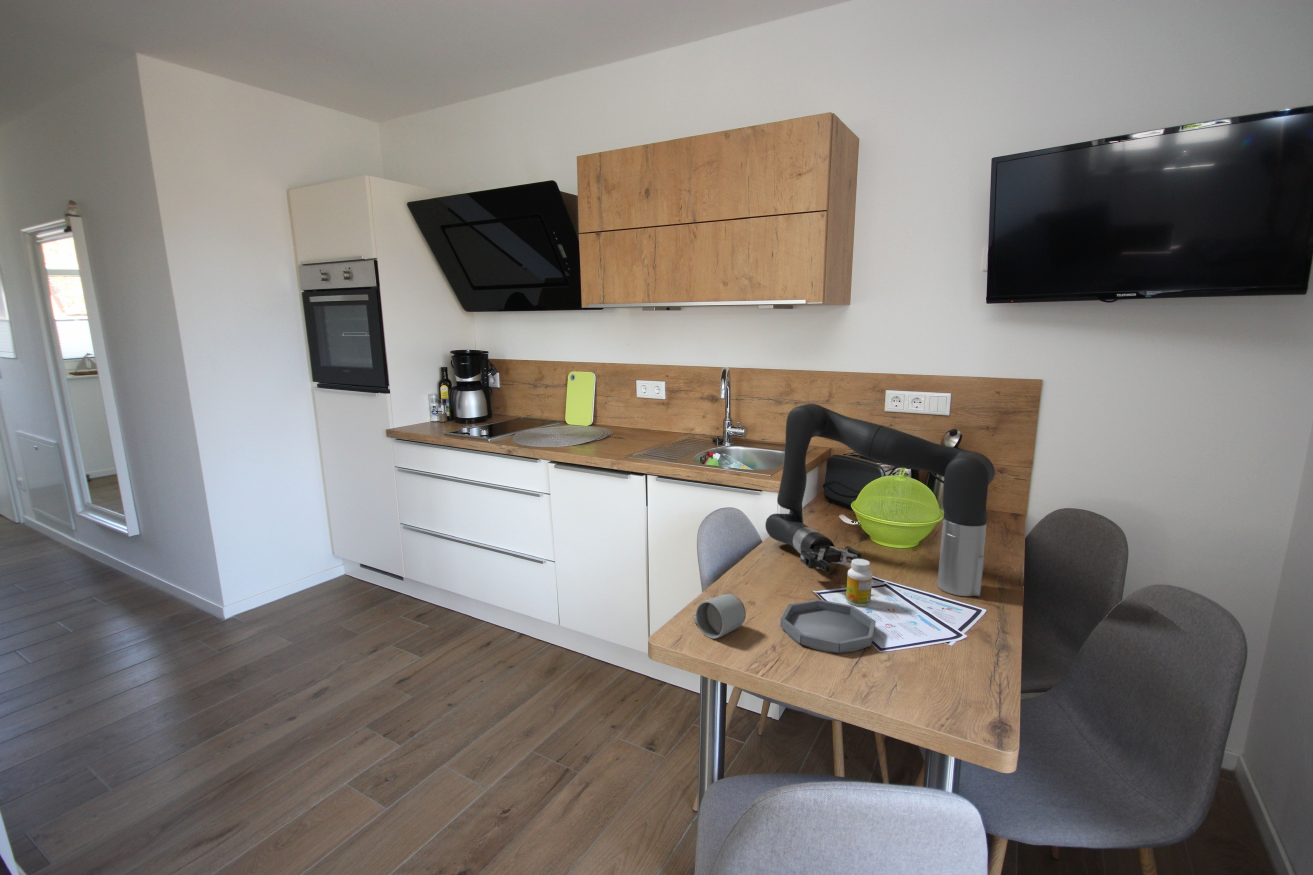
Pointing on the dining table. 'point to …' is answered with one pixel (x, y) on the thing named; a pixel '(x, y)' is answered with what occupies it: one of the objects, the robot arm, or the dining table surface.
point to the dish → (828, 626)
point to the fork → (847, 520)
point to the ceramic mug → (720, 615)
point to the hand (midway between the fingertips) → (846, 568)
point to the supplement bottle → (859, 583)
